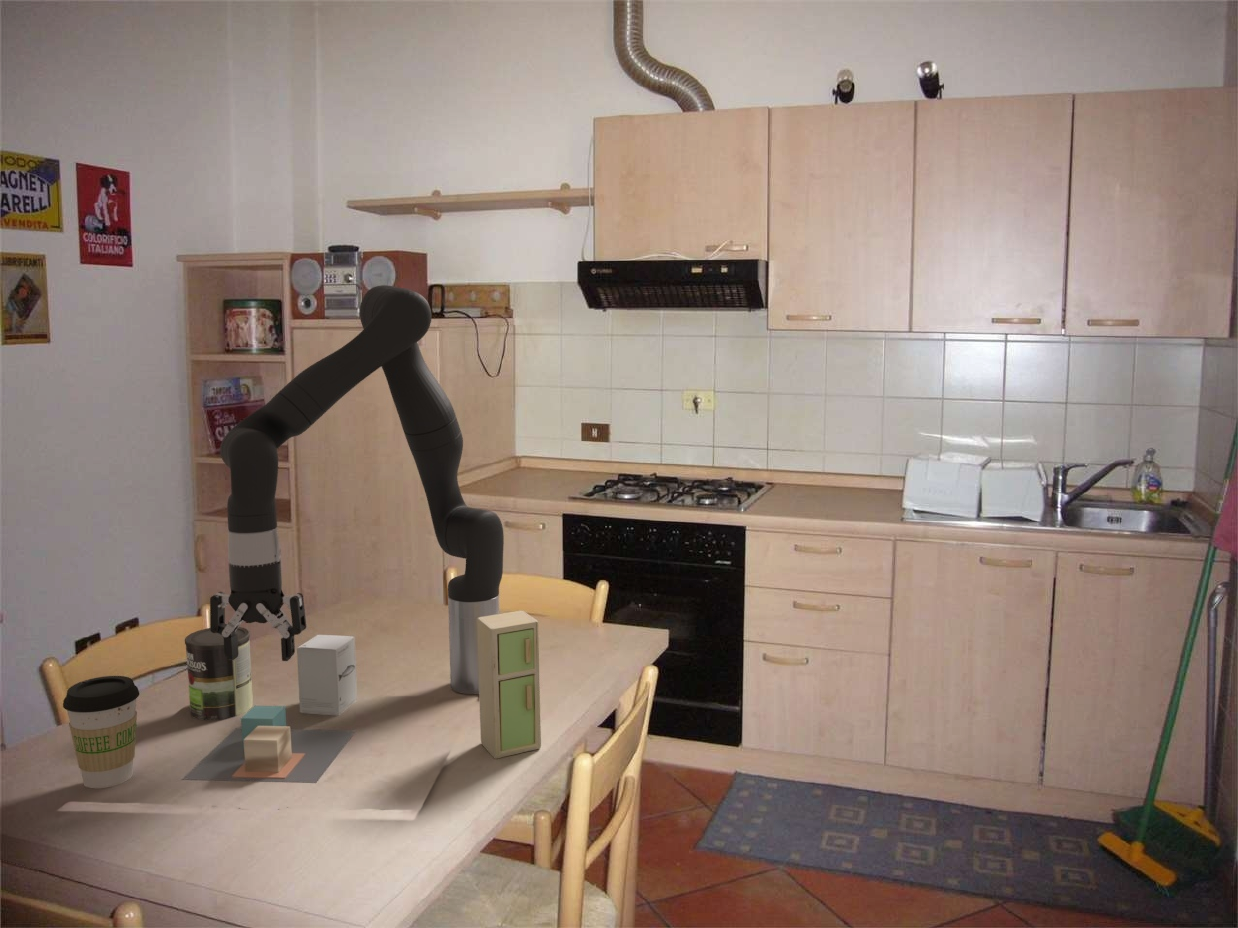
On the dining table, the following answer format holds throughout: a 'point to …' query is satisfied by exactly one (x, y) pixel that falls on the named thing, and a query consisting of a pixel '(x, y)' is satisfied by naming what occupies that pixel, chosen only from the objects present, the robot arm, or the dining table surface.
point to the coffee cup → (103, 728)
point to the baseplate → (305, 766)
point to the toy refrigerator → (509, 683)
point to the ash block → (267, 749)
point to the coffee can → (218, 676)
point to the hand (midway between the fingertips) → (260, 658)
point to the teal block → (262, 718)
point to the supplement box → (327, 674)
